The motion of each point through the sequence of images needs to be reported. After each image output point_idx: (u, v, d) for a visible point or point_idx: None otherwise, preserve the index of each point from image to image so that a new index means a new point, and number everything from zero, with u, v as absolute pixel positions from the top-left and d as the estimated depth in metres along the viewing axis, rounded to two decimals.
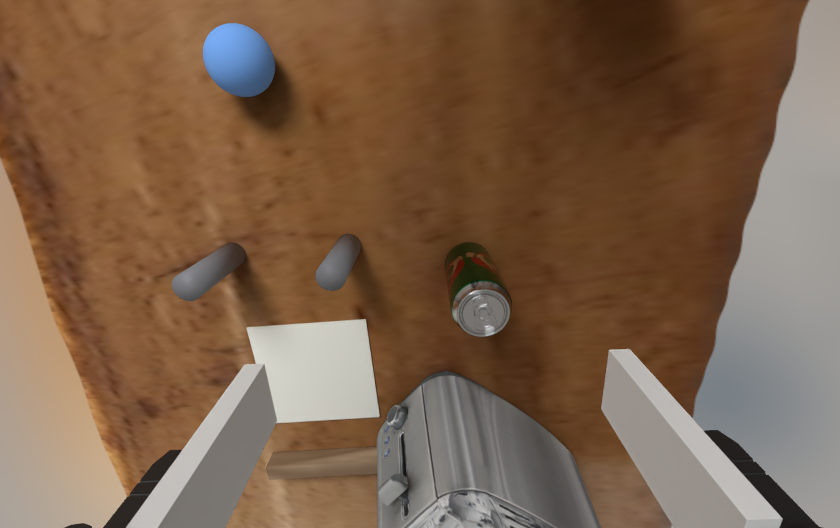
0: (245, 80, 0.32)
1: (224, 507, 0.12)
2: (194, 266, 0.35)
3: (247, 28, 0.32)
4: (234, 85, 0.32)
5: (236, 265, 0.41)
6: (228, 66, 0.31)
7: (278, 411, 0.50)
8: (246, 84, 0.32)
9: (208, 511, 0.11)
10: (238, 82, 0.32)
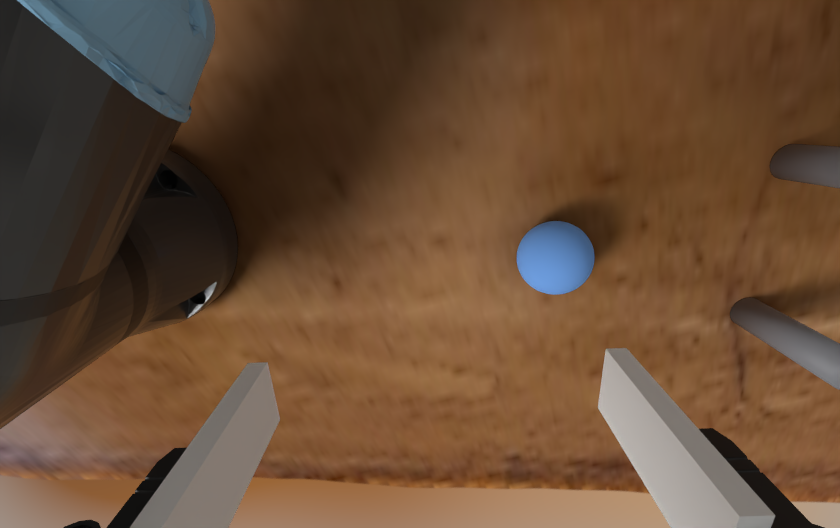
0: (588, 254, 0.28)
1: (228, 505, 0.12)
2: (806, 357, 0.27)
3: (529, 242, 0.29)
4: (590, 267, 0.28)
5: None
6: (576, 269, 0.27)
7: None
8: (591, 254, 0.28)
9: (212, 508, 0.11)
10: (589, 262, 0.28)
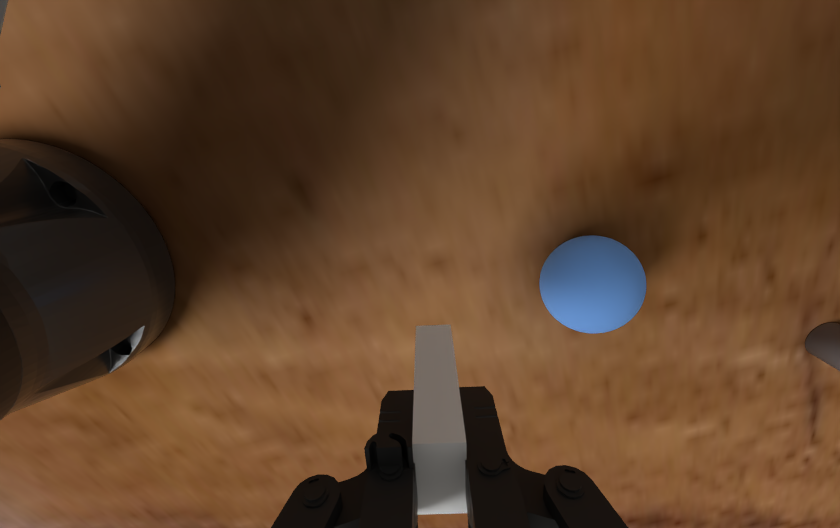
0: (641, 281, 0.20)
1: None
2: None
3: (558, 266, 0.21)
4: (643, 299, 0.21)
5: None
6: (626, 303, 0.20)
7: None
8: (644, 281, 0.20)
9: None
10: (642, 292, 0.20)
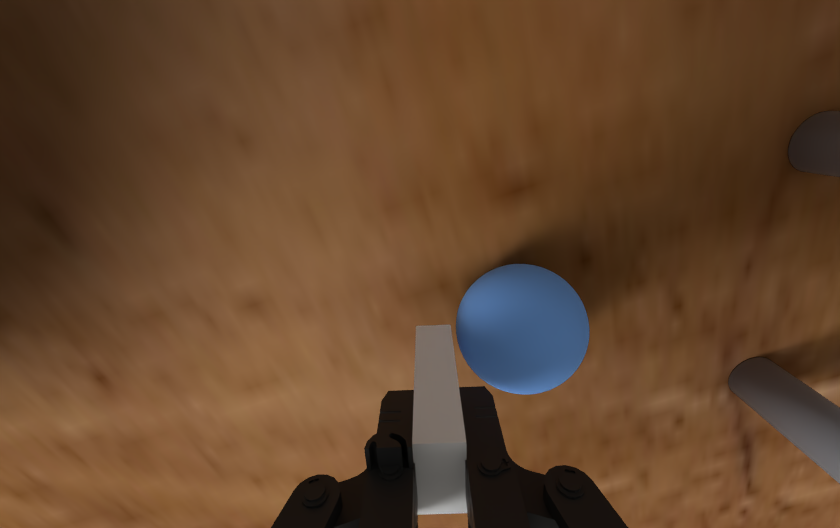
0: None
1: None
2: None
3: (537, 327, 0.14)
4: None
5: (805, 384, 0.19)
6: None
7: None
8: None
9: None
10: None
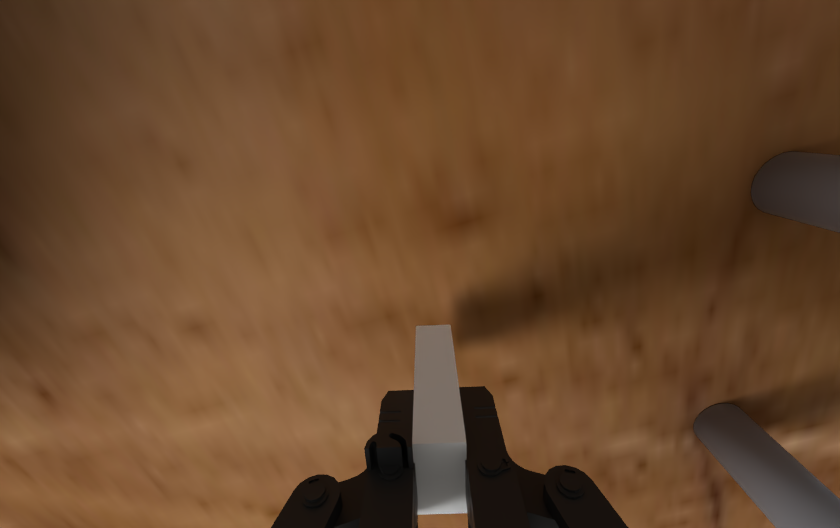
0: None
1: None
2: None
3: None
4: None
5: (769, 437, 0.18)
6: None
7: None
8: None
9: None
10: None
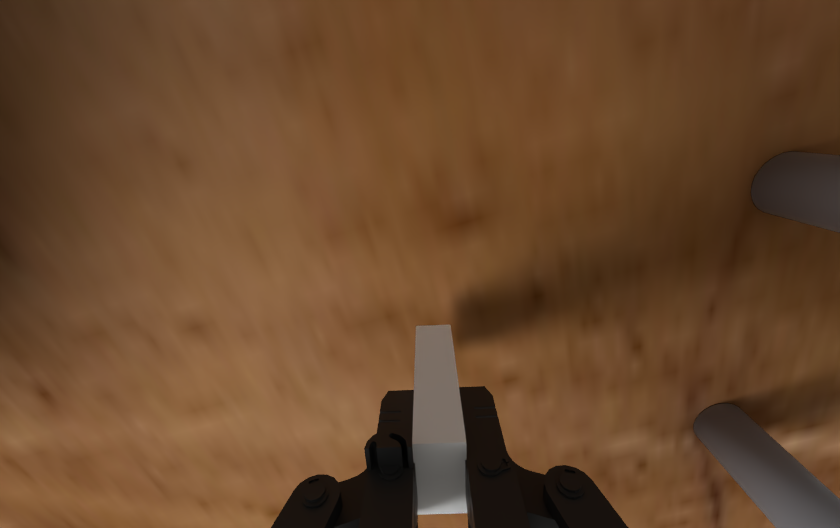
0: None
1: None
2: None
3: None
4: None
5: (769, 437, 0.18)
6: None
7: None
8: None
9: None
10: None
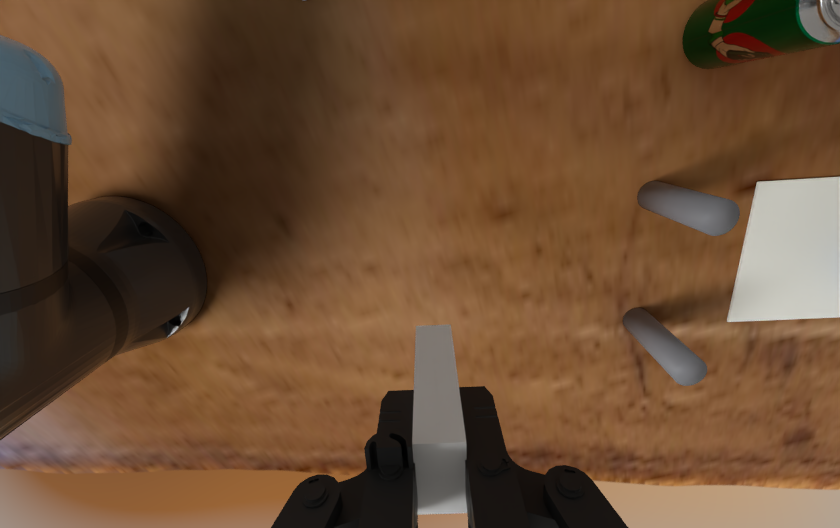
0: None
1: None
2: (661, 359, 0.33)
3: None
4: None
5: (654, 319, 0.37)
6: None
7: None
8: None
9: None
10: None
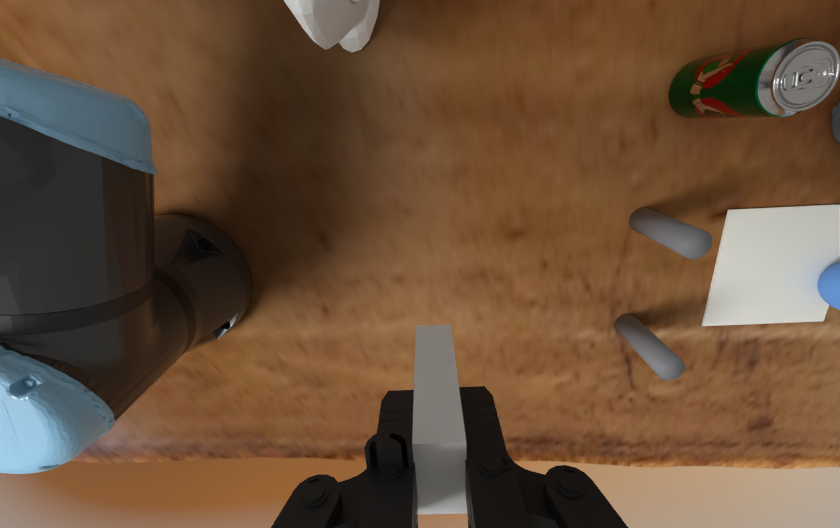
0: None
1: None
2: (647, 358, 0.40)
3: None
4: None
5: (642, 324, 0.44)
6: None
7: (810, 312, 0.45)
8: None
9: None
10: None
